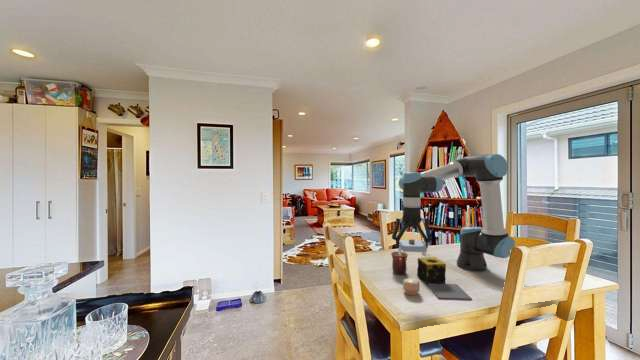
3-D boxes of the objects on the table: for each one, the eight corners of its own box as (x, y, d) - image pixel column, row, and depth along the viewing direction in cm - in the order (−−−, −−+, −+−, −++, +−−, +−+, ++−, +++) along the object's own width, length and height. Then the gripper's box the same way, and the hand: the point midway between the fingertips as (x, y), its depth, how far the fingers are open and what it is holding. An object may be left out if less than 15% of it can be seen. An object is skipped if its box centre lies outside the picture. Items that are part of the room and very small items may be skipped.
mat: (456, 285, 121) (456, 284, 121) (471, 299, 107) (471, 298, 107) (426, 284, 122) (426, 283, 122) (438, 298, 108) (438, 297, 108)
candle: (416, 276, 133) (416, 257, 132) (434, 275, 134) (435, 256, 133) (426, 284, 123) (426, 264, 122) (446, 283, 123) (446, 263, 123)
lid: (419, 245, 118) (419, 237, 118) (426, 252, 108) (426, 242, 108) (397, 245, 119) (397, 236, 119) (403, 251, 109) (403, 242, 109)
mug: (390, 268, 143) (390, 251, 143) (406, 270, 141) (406, 251, 141) (392, 277, 131) (392, 257, 131) (409, 278, 129) (409, 259, 129)
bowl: (416, 289, 117) (416, 278, 117) (421, 296, 110) (421, 284, 110) (401, 288, 118) (401, 277, 118) (405, 296, 111) (405, 284, 111)
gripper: (434, 205, 116) (434, 252, 117) (384, 205, 118) (384, 252, 118) (440, 207, 109) (440, 258, 109) (387, 207, 110) (388, 257, 111)
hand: (411, 255), depth 114 cm, fingers closed on lid, 10 cm apart
